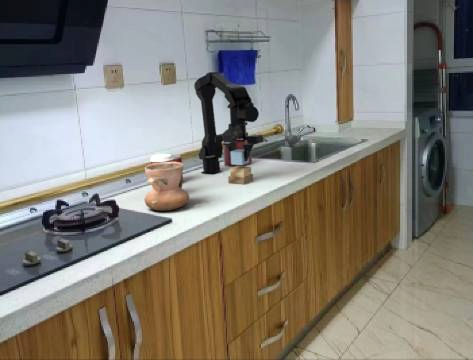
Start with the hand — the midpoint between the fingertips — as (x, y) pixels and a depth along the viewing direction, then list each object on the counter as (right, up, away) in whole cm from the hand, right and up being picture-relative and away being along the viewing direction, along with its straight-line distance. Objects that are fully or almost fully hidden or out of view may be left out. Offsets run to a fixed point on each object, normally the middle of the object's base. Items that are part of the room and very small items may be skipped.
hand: (240, 160), depth 191 cm
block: (0, -1, 0) cm, 1 cm away
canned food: (-26, -9, +6) cm, 29 cm away
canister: (-1, 0, +38) cm, 38 cm away
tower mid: (0, -6, +1) cm, 6 cm away
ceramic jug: (-24, -17, -28) cm, 40 cm away
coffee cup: (-27, -14, -14) cm, 33 cm away
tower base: (0, -9, +2) cm, 9 cm away
